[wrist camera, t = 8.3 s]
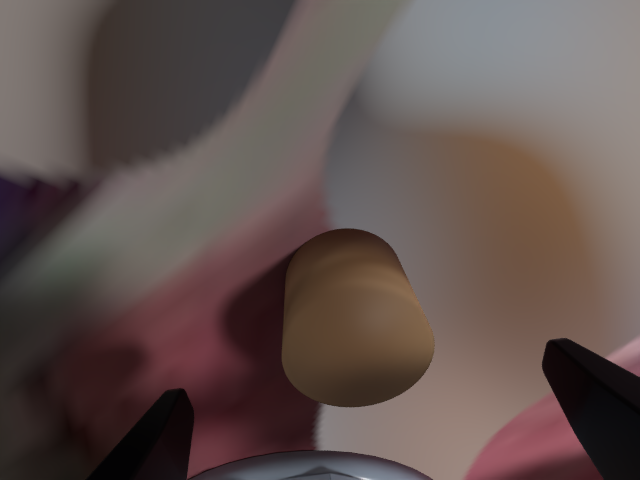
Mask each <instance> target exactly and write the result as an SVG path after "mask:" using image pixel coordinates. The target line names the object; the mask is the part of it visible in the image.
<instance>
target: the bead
mask: <svg viewBox="0 0 640 480" xmlns="http://www.w3.org/2000/svg"><path fill="white" fill-rule="evenodd" d="M434 346H435V345H434V336H433V332H432V329H431V327H430V325H429V323H428V321H427V319H426V316H425V314H424V312H423V310H422V308H421V306H420V304H419V302H418V300H417V297H416V295H415V293H414V291H413V289H412V287H411V285H410V283H409V281H408V278H407V276H406V274H405V272H404V270H403V268H402V265H401V263H400V261H399V259H398V257H397V255H396V253H395V252H394V250H393V249H392V247H391V246H390V245H389V244H388V243H387V242H385V241H384V240H383V239H382V238H380V237H379V236H377V235H375V234H372V233H370V232H367V231H364V230H360V229H351V228H343V229H335V230H332V231H328V232H325V233H322V234H320V235H318V236H315V237H314V238H312V239H310V240H309V241H307V242H306V243H305V244H304V245H302V246H301V247H300V248H299V249H298V250H297V251H296V253H295V254H294V256H293V257H292V259H291V261H290V263H289V265H288V268H287V272H286V281H285V300H284V320H283V340H282V364H283V368H284V371H285V374H286V376H287V377H288V379H289V381H290V382H291V383H292V384H293V386H294V387H295V388H296V389H298V390H299V391H300V392H301V393H303V394H304V395H305V396H307V397H309V398H311V399H313V400H315V401H318V402H320V403H324V404H327V405H332V406H338V407H361V406H368V405H374V404H377V403H381V402H384V401H387V400H389V399H392V398H394V397H396V396H398V395H400V394H402V393H403V392H405V391H406V390H408V389H409V388H410V387H412V386H413V385H414V384H415V383H416V382H417V381H418V380H419V379H420V378H421V377H422V376H423V375H424V373H425V372H426V370H427V369H428V367H429V365H430V363H431V361H432V357H433V354H434Z"/></svg>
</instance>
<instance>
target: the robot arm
mask: <svg viewBox="0 0 640 480" xmlns="http://www.w3.org/2000/svg"><path fill="white" fill-rule="evenodd" d="M542 369H543V372H544V374H545V377H546V378H547V380H548V382H549V384H550V386H551V388H552V390H553V392H554V394H555V396H556V398H557V400H558V402H559V404H560V406H561V408H562V410H563V412H564V414H565V416H566V418H567V420H568V422H569V424H570V425H571V427H572V429H573V431H574V433H575V435H576V436H577V438H578V439H579V441H580V443H581V444H582V446H583V448H584V449H585V451H586V452H587V454H588V455H589V457H590V459H591V460H592V462H593V463H594V465H595V466H596V468H597V469H598V471H599V473H600V474H601V476H602V477H603V479H604V480H640V377H638V376H637V375H635V374H633V373H631V372H629V371H627V370H625V369H624V368H622V367H620V366H618V365H616V364H614V363H612V362H611V361H609V360H607V359H605V358H603V357H601V356H599V355H598V354H596V353H594V352H592V351H590V350H588V349H586V348H585V347H582V346H581V345H579V344H577V343H575V342H573V341H572V340H569V339H567V338H560V339H552V340H549V341H548V342H547V344H546V348H545V352H544V356H543V361H542ZM193 425H194V410H193V407H192V405H191V402H190V400H189V398H188V396H187V393H186V391H185V390H184V389H183V388H179V389H171V390H167V391H166V392H164V393H163V394H162V395H161V397H160V398H159V399H158V400H157V401H156V402H155V403H154V404H153V405H152V407H151V408H150V409H149V410H148V411H147V412H146V413H145V414H144V415H143V417H142V418H141V419H140V420H139V421H138V422H137V423H136V424H135V425H134V427H133V428H132V429H131V430H130V431H129V432H128V433H127V434H126V435H125V437H124V438H123V439H122V440H121V441H120V442H119V443H118V444H117V445H116V447H115V448H114V449H113V450H112V451H111V452H110V453H109V454H108V455H107V457H106V458H105V459H104V460H103V461H102V462H101V463H100V464H99V465H98V467H97V468H96V469H95V470H94V471H93V472H92V473H91V474H90V475H89V477H88V478H87V479H86V480H186V478H187V471H188V464H189V456H190V448H191V440H192V433H193Z"/></svg>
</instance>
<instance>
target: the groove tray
mask: <svg viewBox="0 0 640 480" xmlns="http://www.w3.org/2000/svg"><path fill="white" fill-rule="evenodd" d="M189 480H433V479H431V478H430V477H428V476H426V475H424V474H423V473H421V472H419V471H417V470H415V469H413V468H411V467H408V466H405V465H403V464H400V463H398V462H395V461H391V460H387V459H383V458H379V457H376V456H370V455H364V454H358V453H352V452H339V451H338V452H337V451H295V452H284V453H274V454H268V455H262V456H257V457H251V458H247V459H243V460H239V461H236V462H232V463H228V464H225V465H222V466H220V467H217V468H214V469H211V470H209V471H206V472H204V473H202V474H200V475H198V476H196V477H193V478H191V479H189Z"/></svg>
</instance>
